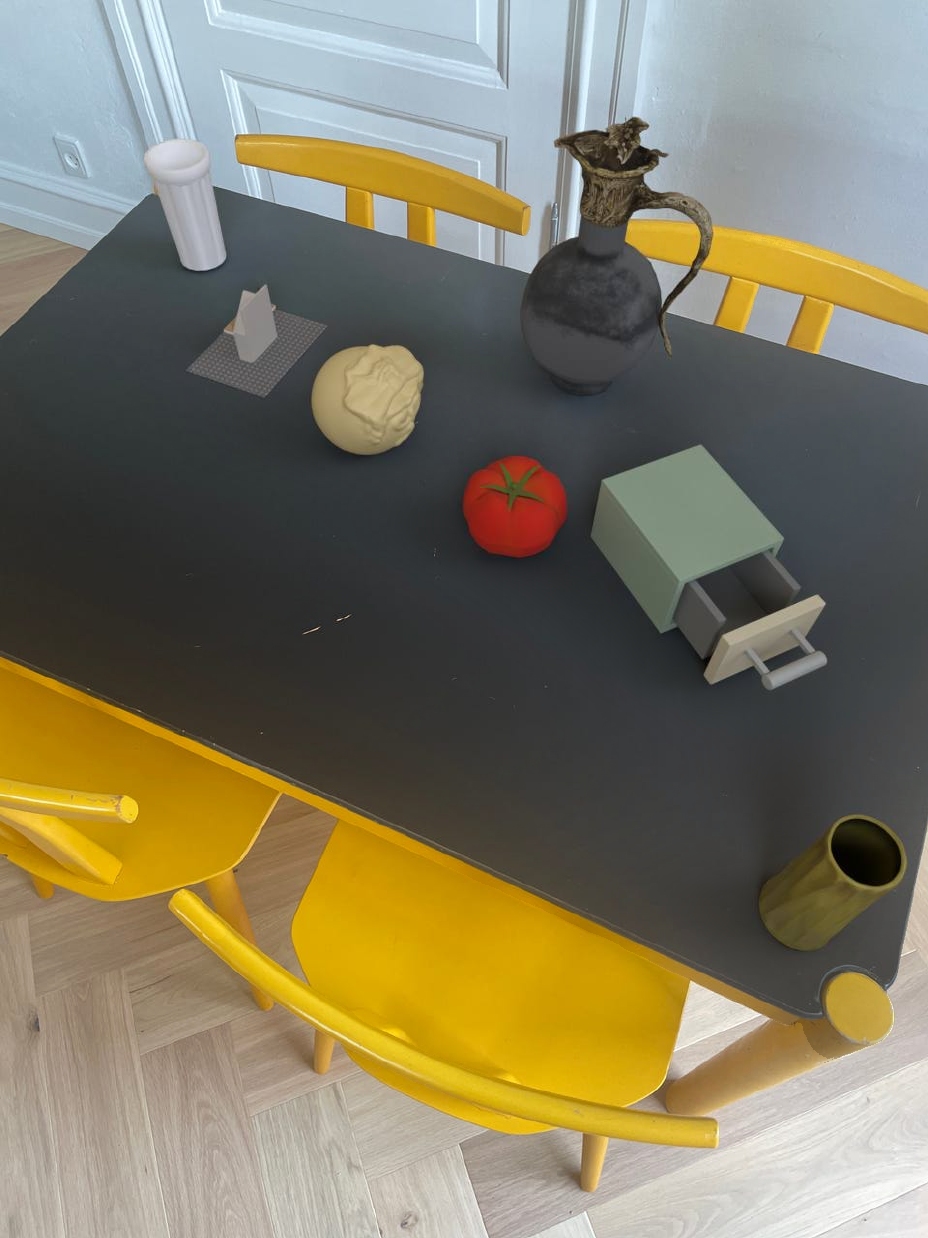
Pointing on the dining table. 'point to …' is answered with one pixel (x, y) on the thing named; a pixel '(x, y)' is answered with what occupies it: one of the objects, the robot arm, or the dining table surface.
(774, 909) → the vase
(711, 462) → the cabinet
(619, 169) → the pitcher
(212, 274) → the dining table surface
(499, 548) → the tomato
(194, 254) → the cup
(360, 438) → the sculpture
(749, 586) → the drawer
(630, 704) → the dining table surface
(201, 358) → the architectural model
